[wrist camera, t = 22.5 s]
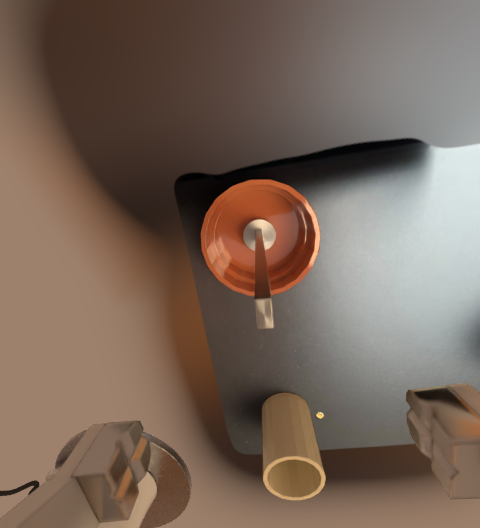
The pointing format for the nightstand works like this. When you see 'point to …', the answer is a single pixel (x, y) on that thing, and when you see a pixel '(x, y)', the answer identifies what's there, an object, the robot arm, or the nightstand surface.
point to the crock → (290, 448)
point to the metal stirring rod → (261, 268)
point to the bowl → (284, 247)
